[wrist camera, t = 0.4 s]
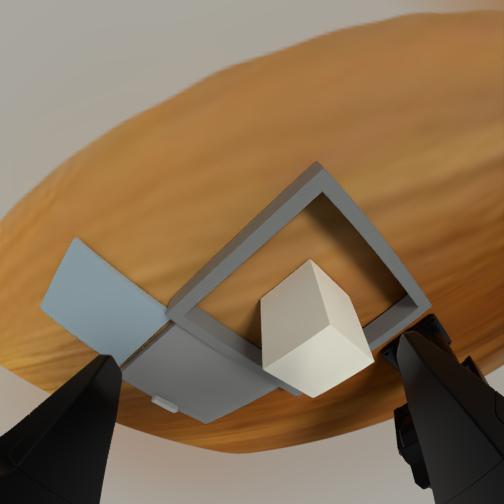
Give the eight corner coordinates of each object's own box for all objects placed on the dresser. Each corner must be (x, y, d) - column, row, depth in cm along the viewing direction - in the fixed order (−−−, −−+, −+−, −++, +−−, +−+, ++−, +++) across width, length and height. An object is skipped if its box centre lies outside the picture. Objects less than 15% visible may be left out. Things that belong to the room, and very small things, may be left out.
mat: (173, 312, 24) (172, 317, 23) (120, 362, 27) (119, 366, 27) (76, 236, 21) (72, 240, 20) (42, 304, 24) (39, 307, 24)
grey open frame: (422, 292, 23) (432, 306, 21) (216, 421, 33) (215, 435, 31) (316, 160, 18) (324, 167, 16) (108, 361, 27) (102, 375, 26)
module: (348, 296, 23) (374, 361, 17) (299, 332, 25) (310, 399, 19) (309, 258, 22) (329, 324, 15) (257, 301, 23) (259, 371, 17)
